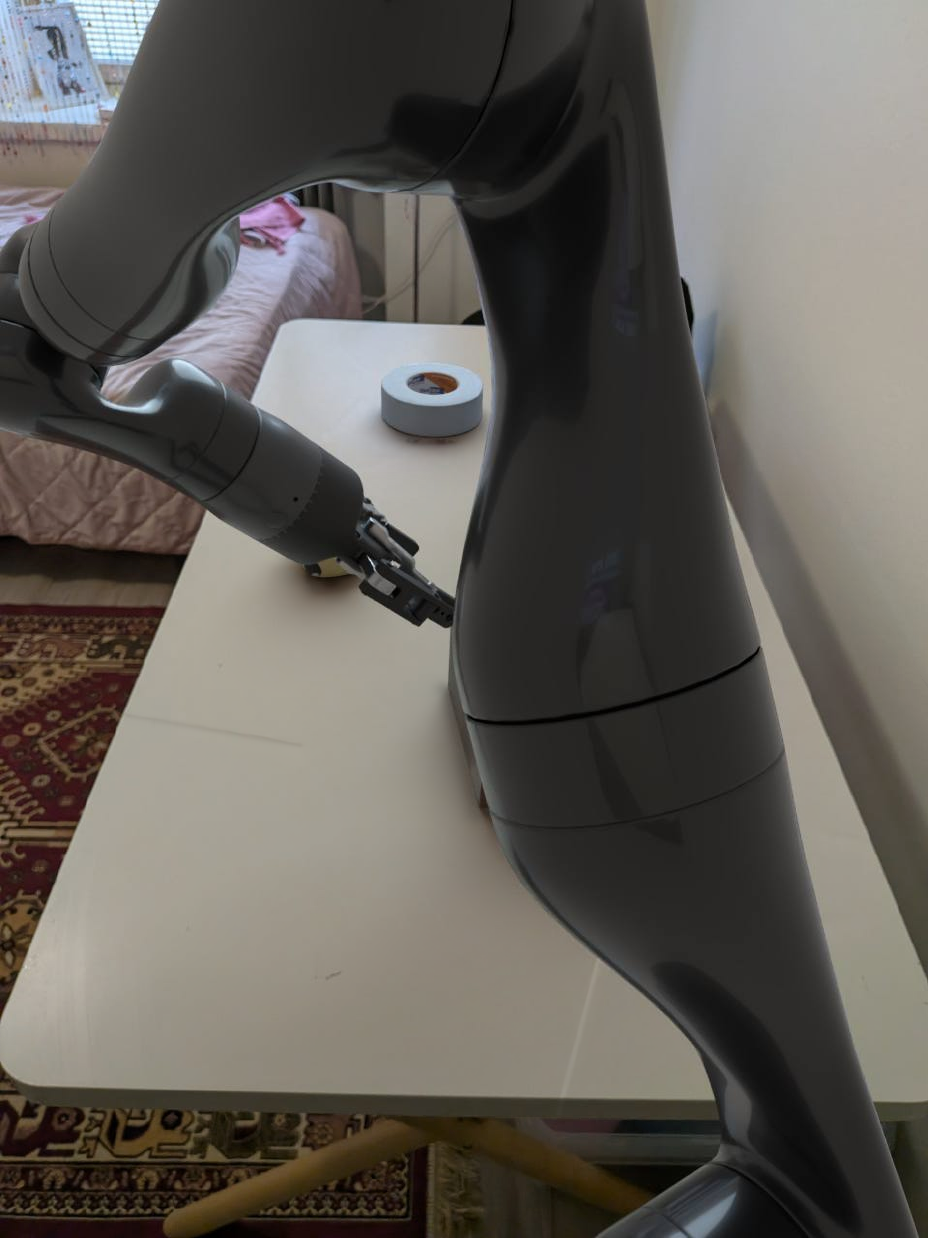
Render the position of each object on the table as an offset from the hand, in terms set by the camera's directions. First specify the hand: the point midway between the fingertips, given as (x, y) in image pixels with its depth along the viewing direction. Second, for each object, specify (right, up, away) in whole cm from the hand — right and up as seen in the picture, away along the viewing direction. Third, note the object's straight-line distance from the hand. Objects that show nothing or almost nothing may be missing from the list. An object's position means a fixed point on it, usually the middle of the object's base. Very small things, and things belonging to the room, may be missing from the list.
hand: (432, 584), depth 72 cm
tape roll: (-2, +28, +69) cm, 74 cm away
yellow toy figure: (-14, +5, +39) cm, 42 cm away
